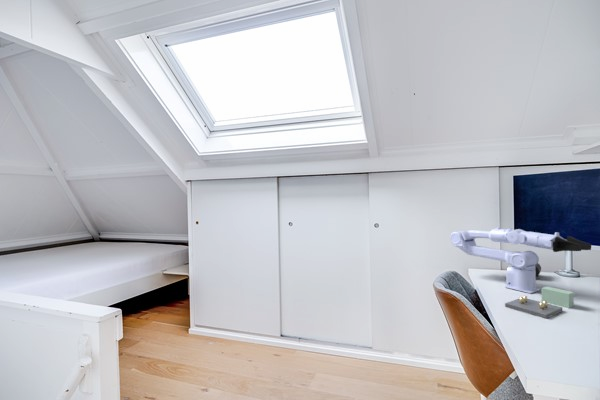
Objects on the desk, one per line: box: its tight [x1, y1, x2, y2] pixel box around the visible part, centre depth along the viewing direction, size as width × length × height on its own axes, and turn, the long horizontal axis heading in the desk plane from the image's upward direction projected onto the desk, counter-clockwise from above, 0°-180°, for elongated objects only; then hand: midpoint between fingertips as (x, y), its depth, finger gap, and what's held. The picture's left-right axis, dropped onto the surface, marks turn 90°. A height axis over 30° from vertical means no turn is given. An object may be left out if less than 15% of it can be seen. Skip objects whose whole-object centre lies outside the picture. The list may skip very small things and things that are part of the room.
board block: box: [541, 286, 575, 309], centre depth 111 cm, size 8×4×5 cm, turn 30°
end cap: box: [535, 262, 542, 278], centre depth 146 cm, size 10×7×7 cm
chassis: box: [504, 295, 563, 319], centre depth 106 cm, size 12×12×3 cm
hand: (586, 247), depth 109 cm, fingers open, 7 cm apart
